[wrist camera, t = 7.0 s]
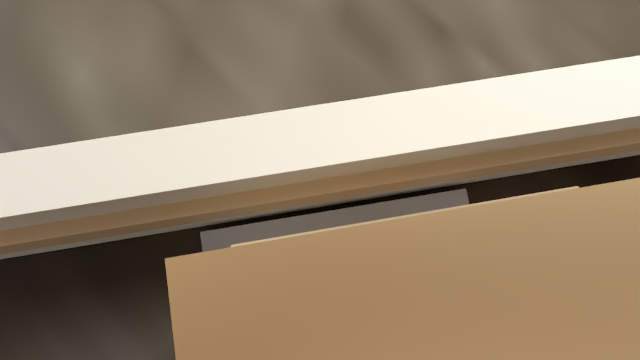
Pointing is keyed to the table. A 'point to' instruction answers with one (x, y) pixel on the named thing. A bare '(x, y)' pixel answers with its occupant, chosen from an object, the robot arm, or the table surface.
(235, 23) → the table surface
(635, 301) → the tan rectangular block
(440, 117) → the wall board
